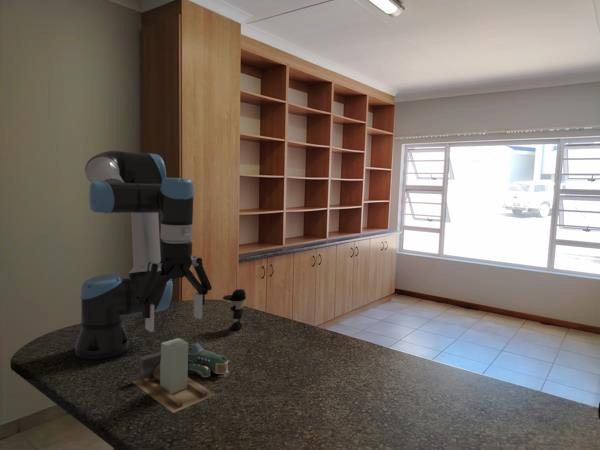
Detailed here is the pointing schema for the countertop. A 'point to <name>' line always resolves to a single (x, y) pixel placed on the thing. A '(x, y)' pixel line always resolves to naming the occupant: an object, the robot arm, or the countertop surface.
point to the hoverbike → (206, 362)
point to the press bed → (170, 401)
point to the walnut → (157, 373)
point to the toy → (236, 307)
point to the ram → (174, 365)
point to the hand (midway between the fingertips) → (174, 323)
